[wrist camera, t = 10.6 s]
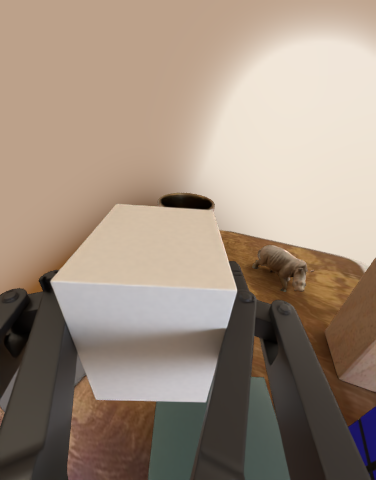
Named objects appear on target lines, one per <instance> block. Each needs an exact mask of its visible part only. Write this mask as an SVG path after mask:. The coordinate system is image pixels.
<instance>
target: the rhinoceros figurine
mask: <svg viewBox="0 0 376 480" xmlns="http://www.w3.org/2000/svg"><path fill="white" fill-rule="evenodd" d="M258 258H259V260H256V262H255V263H254V264H253V266H252V267H253V268H254V269H257V268H259V267H258V265H261V266H266V267H268V268H269V269H270V270H271V271H270V272H274V273H276V274H277V275H278V276H279V277H280V280H281V283H282V286H283V287H282V289H281V291H284V292H285V291H286V288H287V282H288V281H289V280H290V278H289V277H293V283H292V285H293V287H294V288H295V289H294V291H301V292H302V291H304V290H303V289H304V288H305V286H306V283H305V279H306V272H307V271H308V270H307V265H306V263H305V262H304V261H303V260H299V259H297V258H295V257H294V256H293V255H291V254H290V253H289V252H287V251H286V250H284V249H282V248H279V247H277V246H274V245H268V246H265V247H263V248H262V249H260V250H259V251H258ZM313 271H314V270H312V271H310V272H313Z"/></svg>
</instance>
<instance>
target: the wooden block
mask: <svg viewBox="0 0 376 480" xmlns="http://www.w3.org/2000/svg"><path fill="white" fill-rule="evenodd" d="M325 335H326V339H327V342H328V345H329V349H330V352H331V356H332V359H333V362H334V366H335V369H336V373H337V376H338V378H339V379H340V380H342V381H345V382H348V383H351V384H354V385H356V386H359V387H362V388H365V389H368V390H371V391H373V392H376V258H375V259H374V260H373V262H372V263H371V265H370V266H369V268H368V269H367V271H366V272H365V274H364V275H363V276H362V278H361V279H360V281H359V282H358V284H357V285H356V287H355V288H354V289H353V291H352V292H351V294H350V295H349V297H348V298H347V300H346V301H345V303H344V304H343V305H342V307H341V308H340V310H339V311H338V313H337V314H336V316H335V317H334V318H333V320H332V321H331V323H330V324H329V326H328V327H327V329H326V330H325Z"/></svg>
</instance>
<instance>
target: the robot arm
mask: <svg viewBox="0 0 376 480" xmlns="http://www.w3.org/2000/svg"><path fill="white" fill-rule="evenodd" d="M229 265H230V268H231V271H232V275H233V278H234V281H235V284H236V288H237V293H236V297H235V300H234V304H233V307H232V311H231V315H230V318H229V322H228V325H227V328H226V330H225V334H224V337H223V341H222V345H221V348H220V352H219V355H218V359H217V364H216V368H215V372H214V377H213V381H212V386H211V390H210V394H209V399H208V403H207V407H206V412H205V416H204V421H203V425H202V429H201V434H200V438H199V442H198V447H197V451H196V455H195V460H194V464H193V468H192V473H191V477H190V480H245V477H244V462H245V449H246V436H247V423H248V410H249V397H250V384H251V371H252V358H253V345H254V336H256V337H259V338H260V342H261V347H262V352H263V356H264V361H265V365H266V370H267V375H268V379H269V384H270V389H271V393H272V398H273V402H274V407H275V412H276V416H277V421H278V426H279V430H280V435H281V439H282V444H283V449H284V453H285V458H286V463H287V467H288V472H289V476H290V480H371V478H370V475H369V473H368V471H367V469H366V466H365V464H364V462H363V460H362V457H361V455H360V453H359V451H358V448H357V446H356V444H355V442H354V439H353V437H352V435H351V433H350V430H349V428H348V426H347V424H346V421H345V419H344V417H343V415H342V413H341V410H340V408H339V406H338V404H337V401H336V399H335V397H334V395H333V392H332V390H331V388H330V386H329V383H328V381H327V379H326V377H325V374H324V372H323V370H322V368H321V365H320V363H319V361H318V359H317V356H316V354H315V352H314V350H313V347H312V345H311V343H310V341H309V338H308V336H307V334H306V332H305V329H304V327H303V325H302V323H301V320H300V318H299V316H298V314H297V312H296V310H295V308H294V307H293V306H292V305H291V304H289V303H287V302H285V301H282V300H275V301H273V302H272V304H268V303H265V302H262V301H259V300H257V299H256V297H255V296H254V294H252V293H251V292H249V290H248V287H247V284H246V281H245V279H244V276H243V273H242V271H241V268H240V266H239V265H238V264H237V263H236V262H235V261H229ZM58 271H59V270H54V271H50V272H48V273H46V274H44V275H43V276H41V277H40V279H39V282H40V284H41V287H42V290H43V292H38V293H33V294H27V292H26V291H25V290H24V289H20V288H19V289H12V290H9V291H6V292H4V293H2V294H1V295H0V399H1V397H2V396H3V394H4V392H5V390H6V389H7V387H8V385H9V383H10V382H11V380H12V378H13V376H14V375H15V373H16V371H17V369H18V368H19V370H18V373H17V376H16V379H15V382H14V385H13V389H12V392H11V395H10V398H9V401H8V404H7V407H6V411H5V414H4V417H3V420H2V423H1V426H0V480H68V476H67V461H68V450H69V440H70V429H71V418H72V407H73V396H74V386H75V375H76V364H77V353H78V352H77V350H76V347H75V344H74V342H73V339H72V337H71V334H70V332H69V329H68V326H67V324H66V321H65V319H64V316H63V314H62V311H61V308H60V306H59V303H58V301H57V298H56V295H55V293H54V290H53V288H52V285H51V283H50V281H51V280H52V278H53V277H54V276H55V275H56V274H57V273H58ZM19 366H20V367H19Z"/></svg>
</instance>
